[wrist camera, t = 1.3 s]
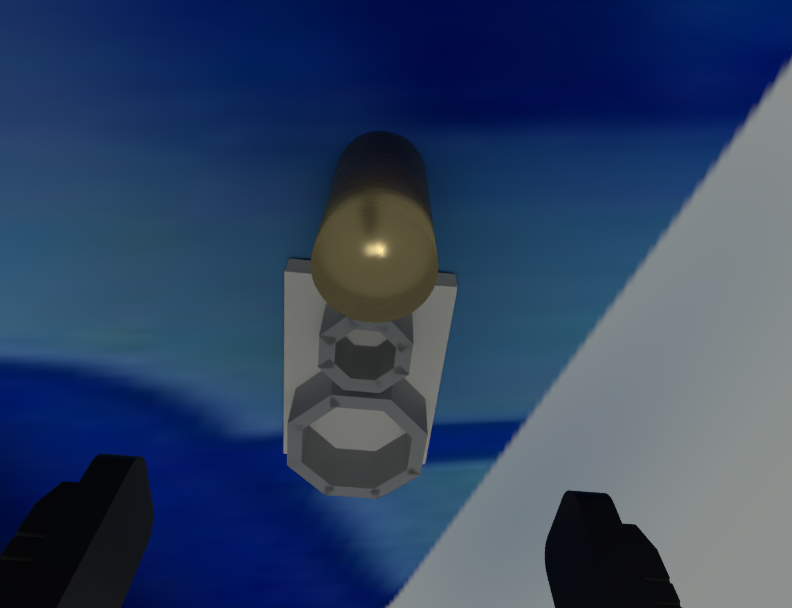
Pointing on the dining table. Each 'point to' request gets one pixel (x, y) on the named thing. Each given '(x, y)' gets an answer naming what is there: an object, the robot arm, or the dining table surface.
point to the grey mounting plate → (360, 388)
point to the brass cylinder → (376, 232)
